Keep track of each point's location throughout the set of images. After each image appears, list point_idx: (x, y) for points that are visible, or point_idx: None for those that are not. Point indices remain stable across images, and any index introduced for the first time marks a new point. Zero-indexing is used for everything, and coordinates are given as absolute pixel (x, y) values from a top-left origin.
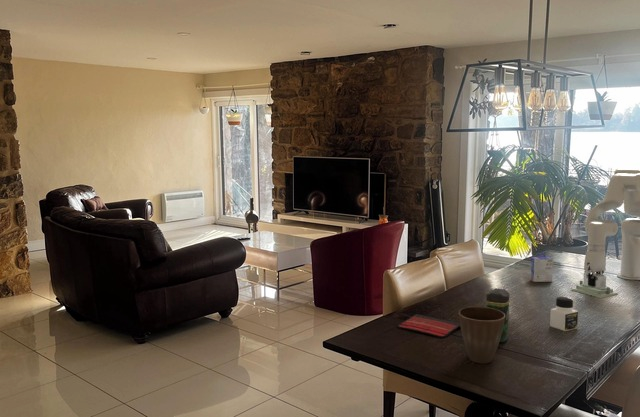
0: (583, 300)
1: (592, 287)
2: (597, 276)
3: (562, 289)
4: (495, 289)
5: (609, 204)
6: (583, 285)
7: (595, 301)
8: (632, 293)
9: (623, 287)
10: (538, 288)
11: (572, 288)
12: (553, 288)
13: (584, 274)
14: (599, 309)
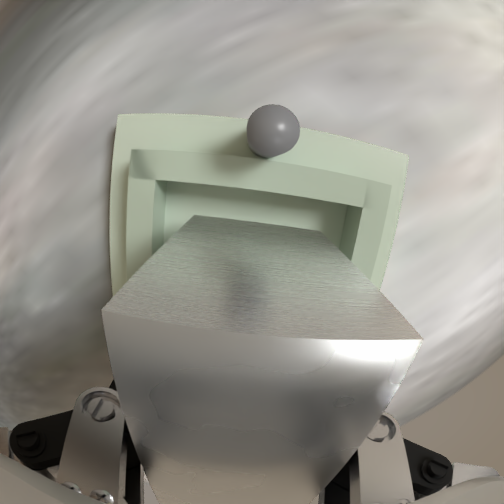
0: (19, 344)
1: (340, 247)
2: (162, 502)
3: (91, 65)
4: None
5: None
6: (243, 186)
7: (62, 391)
8: (401, 421)
9: (499, 326)
10: (25, 5)
11: (117, 128)
12: (75, 19)
13: (128, 305)
14: (25, 416)
